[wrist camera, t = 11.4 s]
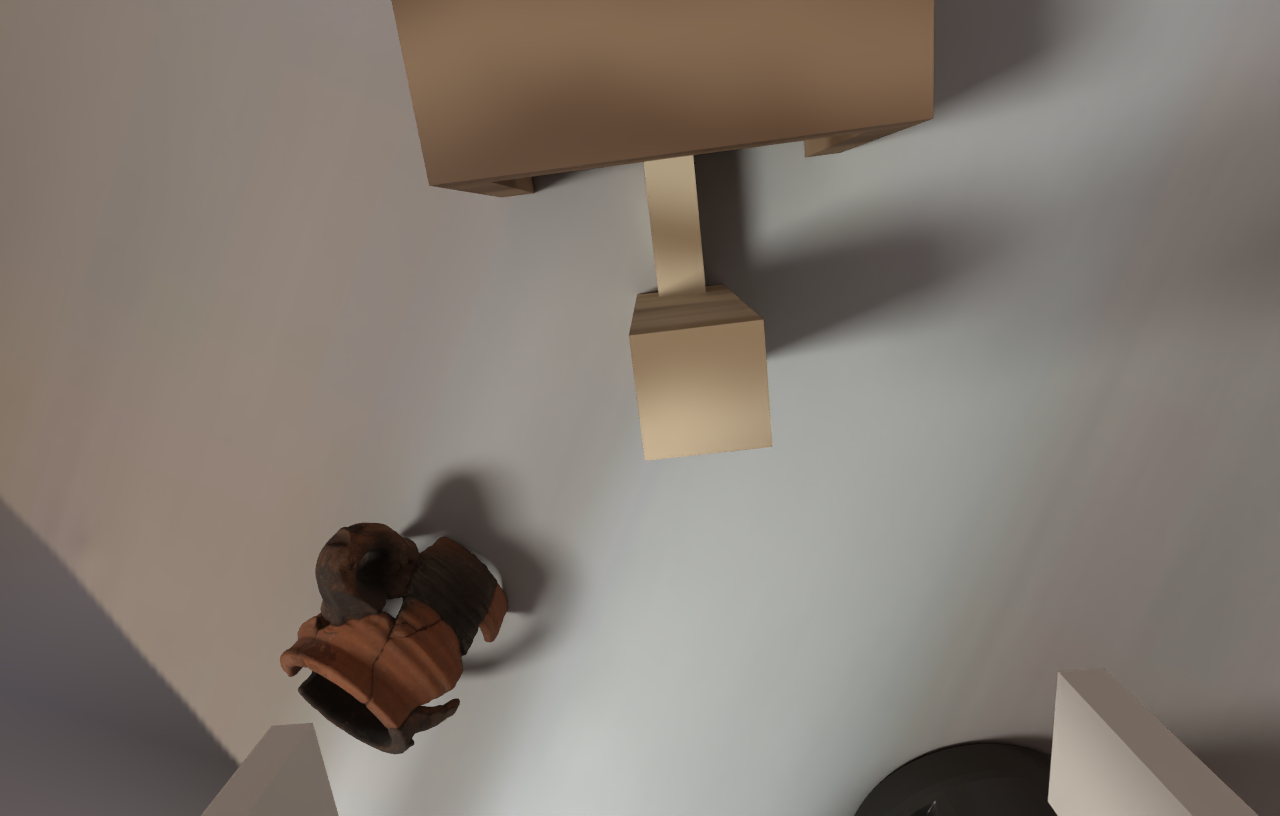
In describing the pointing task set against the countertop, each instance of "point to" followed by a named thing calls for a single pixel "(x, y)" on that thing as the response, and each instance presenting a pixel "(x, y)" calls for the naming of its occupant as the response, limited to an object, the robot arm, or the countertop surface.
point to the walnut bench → (653, 80)
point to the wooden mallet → (693, 338)
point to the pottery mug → (391, 632)
